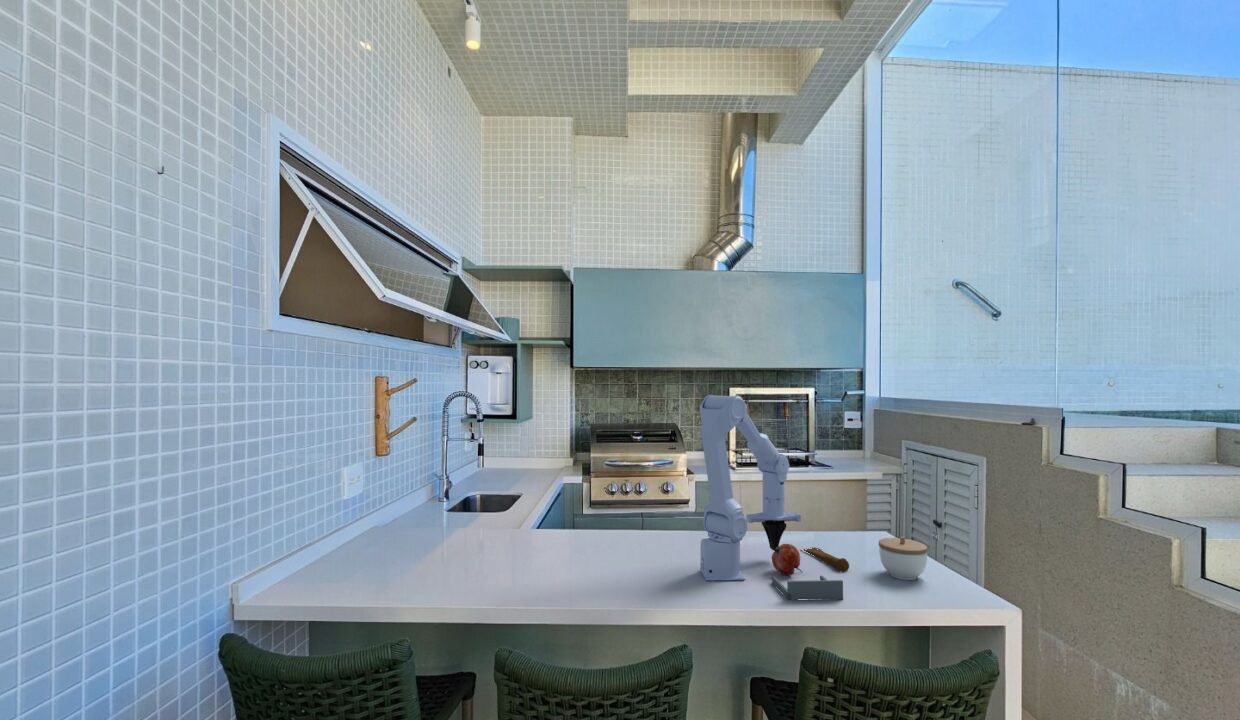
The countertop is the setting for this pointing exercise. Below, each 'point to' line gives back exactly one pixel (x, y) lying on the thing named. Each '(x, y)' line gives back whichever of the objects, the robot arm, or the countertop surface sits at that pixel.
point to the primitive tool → (829, 559)
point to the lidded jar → (903, 557)
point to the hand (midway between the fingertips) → (773, 549)
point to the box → (811, 589)
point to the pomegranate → (786, 559)
